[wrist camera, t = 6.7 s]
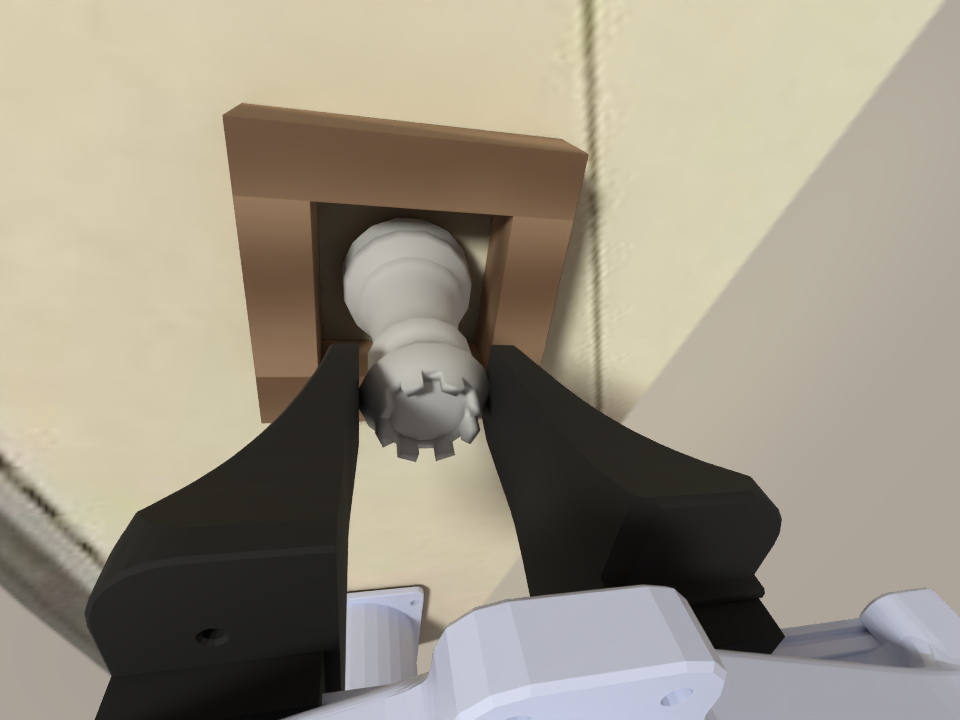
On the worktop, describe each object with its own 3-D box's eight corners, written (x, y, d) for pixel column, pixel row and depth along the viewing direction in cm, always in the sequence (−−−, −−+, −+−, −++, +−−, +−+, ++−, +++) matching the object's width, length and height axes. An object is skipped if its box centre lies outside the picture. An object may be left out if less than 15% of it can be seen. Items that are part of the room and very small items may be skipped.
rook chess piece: (492, 261, 18) (560, 401, 12) (417, 345, 20) (443, 508, 14) (391, 184, 16) (410, 306, 10) (316, 285, 18) (290, 448, 11)
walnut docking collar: (513, 381, 22) (528, 417, 20) (271, 382, 20) (261, 423, 18) (561, 138, 17) (588, 154, 15) (241, 103, 15) (222, 114, 13)
